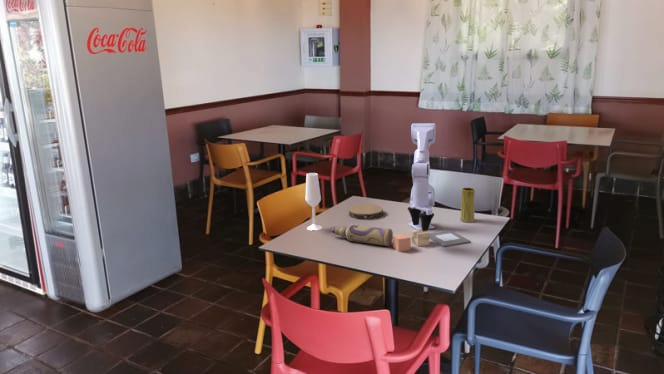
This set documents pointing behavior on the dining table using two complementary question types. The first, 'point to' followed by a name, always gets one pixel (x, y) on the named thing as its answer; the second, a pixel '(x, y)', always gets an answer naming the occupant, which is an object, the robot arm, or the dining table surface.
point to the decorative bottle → (366, 234)
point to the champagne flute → (313, 196)
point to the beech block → (420, 237)
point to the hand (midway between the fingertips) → (420, 227)
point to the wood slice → (366, 211)
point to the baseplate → (448, 238)
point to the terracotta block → (401, 242)
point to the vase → (467, 205)
